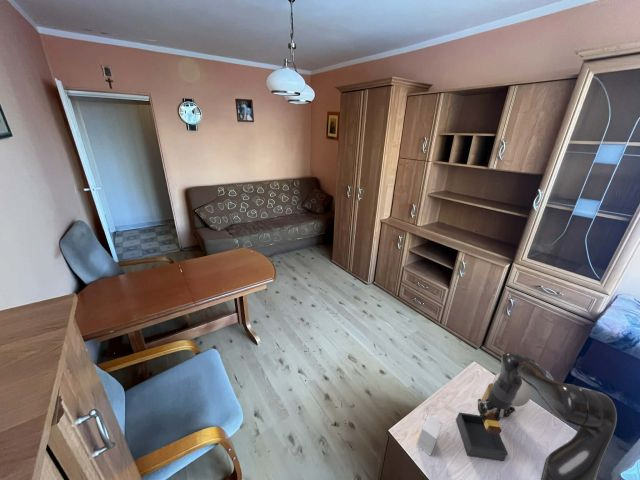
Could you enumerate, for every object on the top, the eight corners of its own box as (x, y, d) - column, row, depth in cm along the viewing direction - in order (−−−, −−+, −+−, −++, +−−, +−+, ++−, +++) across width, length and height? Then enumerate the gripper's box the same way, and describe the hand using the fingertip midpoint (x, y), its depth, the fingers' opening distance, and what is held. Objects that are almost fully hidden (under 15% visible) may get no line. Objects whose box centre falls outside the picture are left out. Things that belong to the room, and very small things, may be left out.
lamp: (522, 423, 125) (544, 389, 114) (498, 430, 122) (518, 396, 111) (495, 393, 138) (513, 360, 127) (473, 399, 135) (489, 365, 124)
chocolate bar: (499, 435, 107) (502, 430, 106) (487, 433, 107) (490, 428, 106) (488, 410, 116) (490, 406, 115) (477, 409, 116) (479, 404, 115)
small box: (421, 430, 120) (428, 413, 115) (436, 440, 117) (443, 423, 111) (415, 445, 115) (421, 428, 109) (430, 457, 111) (437, 439, 105)
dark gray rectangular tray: (503, 461, 111) (508, 453, 108) (467, 455, 112) (471, 447, 110) (487, 424, 124) (491, 417, 121) (455, 420, 125) (459, 412, 123)
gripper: (488, 399, 101) (474, 425, 109) (527, 405, 100) (511, 431, 107) (479, 381, 108) (467, 407, 115) (516, 386, 107) (501, 412, 114)
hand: (488, 418), depth 111 cm, fingers closed on chocolate bar, 4 cm apart
